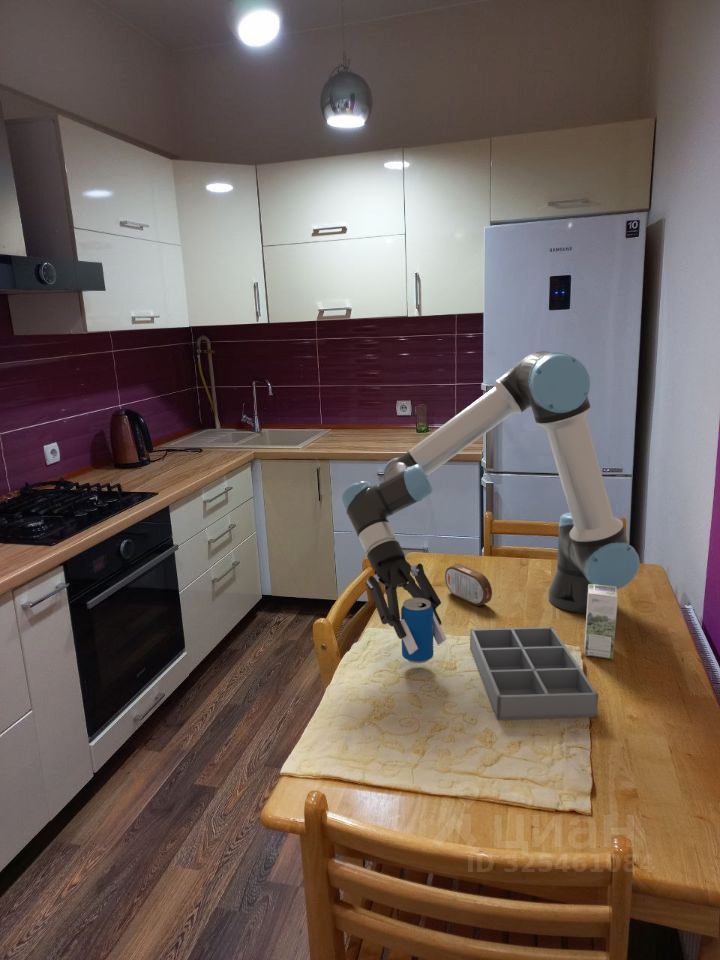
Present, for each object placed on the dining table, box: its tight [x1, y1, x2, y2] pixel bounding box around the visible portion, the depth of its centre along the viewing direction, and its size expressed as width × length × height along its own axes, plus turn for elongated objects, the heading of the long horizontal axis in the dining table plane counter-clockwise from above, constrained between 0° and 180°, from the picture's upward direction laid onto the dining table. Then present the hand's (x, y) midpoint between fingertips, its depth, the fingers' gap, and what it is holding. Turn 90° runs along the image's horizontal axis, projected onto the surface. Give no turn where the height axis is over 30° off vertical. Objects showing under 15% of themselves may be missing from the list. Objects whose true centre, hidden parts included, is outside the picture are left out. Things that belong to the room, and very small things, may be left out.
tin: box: [444, 563, 493, 607], centre depth 164 cm, size 15×3×8 cm, turn 34°
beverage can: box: [400, 597, 434, 664], centre depth 131 cm, size 6×6×12 cm
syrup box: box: [584, 584, 619, 660], centre depth 136 cm, size 6×6×14 cm
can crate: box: [469, 626, 599, 721], centre depth 127 cm, size 18×26×4 cm
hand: (428, 646), depth 129 cm, fingers closed on beverage can, 6 cm apart
